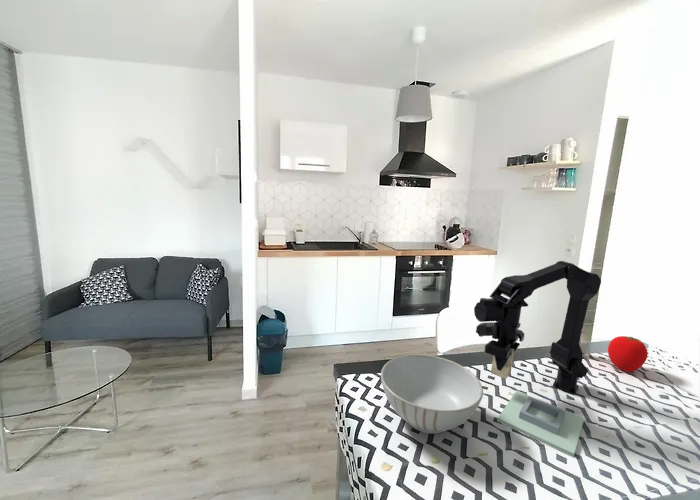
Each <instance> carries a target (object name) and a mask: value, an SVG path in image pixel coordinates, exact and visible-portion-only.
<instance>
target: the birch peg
mask: <svg viewBox="0 0 700 500" xmlns="http://www.w3.org/2000/svg"><path fill="white" fill-rule="evenodd" d="M511 353H512V355H511V356H510V358H509V359H508V361H507V362H506V364H505V365H504V367H503V368H502V370H501V371H499V370H497V366H496V360H495V356H494V355H492V362H491V369H490V373H491V374H492V375H495V376H498V377H499V378H502V379H505V380H506V379H508V377H510V374H511V372H512V365H513V361H514V355H515V353H514V349H511Z"/></svg>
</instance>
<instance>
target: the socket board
mask: <svg viewBox="0 0 700 500" xmlns="http://www.w3.org/2000/svg"><path fill="white" fill-rule="evenodd" d="M584 421H585V417H584V416H581V415H579V414H576V413H573V412H571V411H570V410H566V409H563V408H561V407H559V406H557V405H553V404H552V403H548V402H546V401H544V400H541V399H540V398H539V399H538V398H536V397H534V396H532V395H529V394H526V393H525V392H521V391H519V390H515V392H514V394H513V395H512V397H511V398H510V399H509V401H508V402H507V404H505V407H504V408H503V409H502V411H501V413H500V414H499V415H498V417H497V422H499V423H500V424H503V425H505V426H506V427H509V428H510V429H513V430H514V431H517V432H519V433H522V434H523V435H525V436H528V437H529V438H532V439H534V440H536V441H538V442H541V443H543V444H545V445H547V446H549V447H551V448H553V449H555V450H557V451H560V452H562V453H564V454H565V455H568V456H569V457H572V458H574V457H575V453H576V450H577V446H578V444H579V443H578V442H579V438H580V435H581V432H582V429H583V425H584Z"/></svg>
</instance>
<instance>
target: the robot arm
mask: <svg viewBox="0 0 700 500" xmlns="http://www.w3.org/2000/svg"><path fill="white" fill-rule="evenodd" d="M563 279H565V280H566V289H567V291H568V295H569V301H568V305H567V310H566V314H565V318H564V323H563V326H562V331H561V336H560V339H558V340H557V341H555V342H554V341H553V342H552V343H551V347H550V350H549V352H548V353H549V354H550V358H551V360H552V365H554V366H556V367H558V369H557V373H556V378H555V379H554V382H553V384H552V387H553V388H556V389H558V390H562V391H563V392H567V393H570V394H572V395H576V394H577V393H578V392H577V391H578V389H579V384H578V379H583V377H586V376H587V375H588V372H589V370H588V368H587V366H586V365H585V363H583V358H582V356H583V355H584V352H583V353H582V351H583V349H582V350H581V348H580V345H579V341H580V337H581V338H582V334H583V328H584V323H585V320H586V316H587V311H588V308H589V307H588V306H589V302H590V300H591V299H593V298H594V297H595V296H596V295H597V294H598V292H599V289H600V287H601V284H602V283H601V282H602V279H601V277H600V276H599V275H598V274H597V273H594V272H590V271H587V270H584V269H583V268H580V267H579V266H577V265H576V264H574V263H571V262H568V261H566V260H565V261H564V260H559V261H557V262H556V263H554V264H551V265H549V266H546V267H544V268H541V269H538V270H535V271H533V272H530V273H527V274H524V275H523V274H521V275H520V274H518V275H511V276H505V277H503V278H501V280H500V283H499V284H497V286H496V287H495V289H494V290H493V291H492V293H491V294H490V295H489V297H490V298H486V297H481V298H479V301H478V302H477V303H475V306H474V308H473V309H474V312H473V313H474V317H475V318H476V320H477V321H478V322H480V323H479V324H478V325H476V329H475V333H476V334H477V335H478V337H481V338H483V337H491V338H492V340H490V341H489V342H487V343H486V344H485V345H484V351H483V352H485V353H486V354H488V355H492V356H493V355H494V356H495V360H496V366H497V370H499V371H501V370H502V368H503V367H504V365H505V364H506V362H507V361H508V359H509V358H510V356H511V355H512V353H511V349H514V354H515V353H516V351H517V350H518V348H519V347H520V345H521V343H522V342H523V341H524V339H525V332H523V330H521V329H519V328H521V323H520V319H521V313H522V308H524V307H525V308H526V307H529V303H528V302H526V301H525V300H526V299H527V298H529V297H530V296H532V294H533V293H534V291H536V290H538V289H539V288H542V287H545V286H547V285H550V284H553V283H555V282H558V281H559V280H563ZM581 333H582V334H581ZM518 341H519V342H518ZM520 342H521V343H520Z"/></svg>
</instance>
